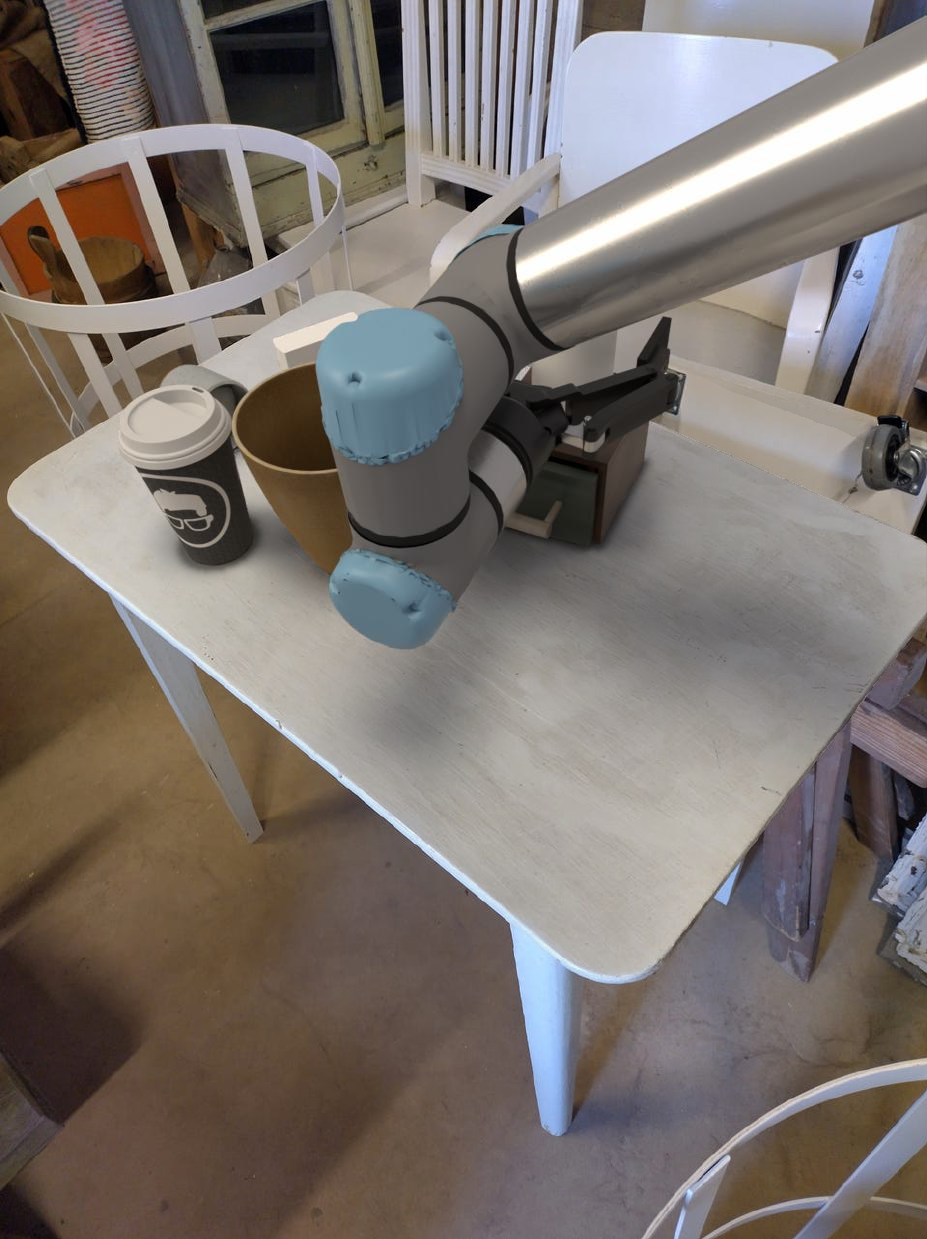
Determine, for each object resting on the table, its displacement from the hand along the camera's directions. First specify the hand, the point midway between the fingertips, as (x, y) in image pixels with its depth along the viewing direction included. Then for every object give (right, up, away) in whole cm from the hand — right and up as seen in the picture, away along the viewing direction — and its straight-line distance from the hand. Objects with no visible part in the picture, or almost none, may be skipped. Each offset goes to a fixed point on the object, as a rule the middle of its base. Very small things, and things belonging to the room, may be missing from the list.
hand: (588, 316), depth 70 cm
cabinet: (0, -13, +11) cm, 17 cm away
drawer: (-2, -15, +8) cm, 17 cm away
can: (-1, -7, +4) cm, 8 cm away
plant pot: (-21, -20, +7) cm, 29 cm away
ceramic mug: (-39, -7, +19) cm, 44 cm away
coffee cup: (-34, -19, +9) cm, 40 cm away
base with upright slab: (-24, -6, +19) cm, 31 cm away
